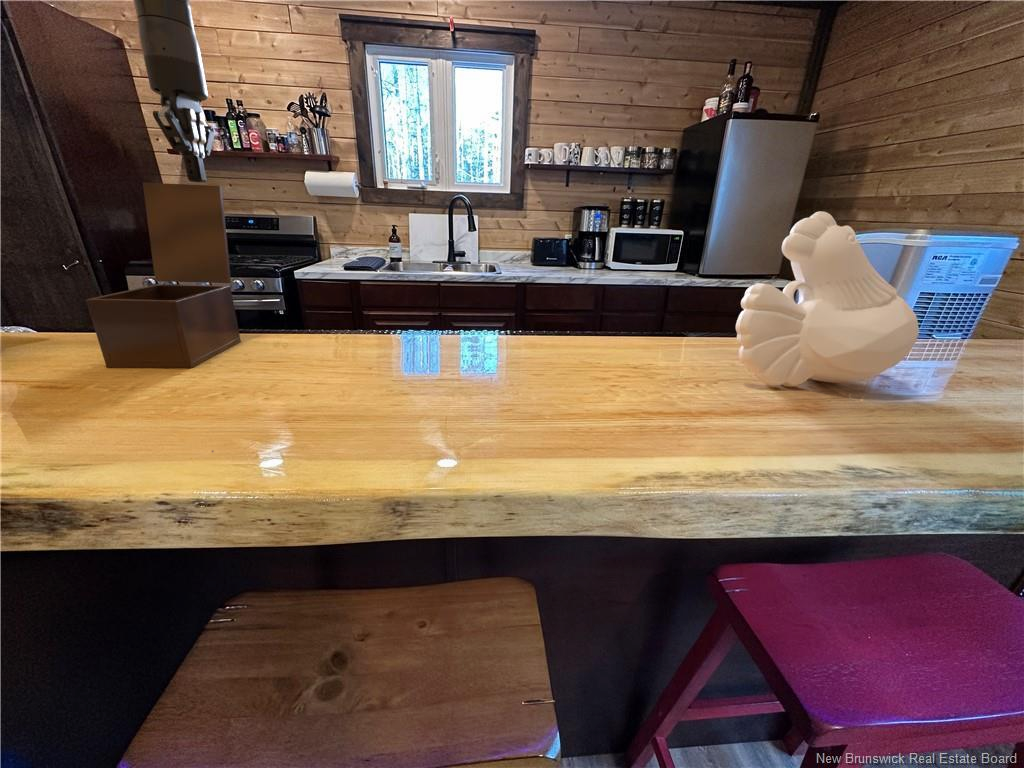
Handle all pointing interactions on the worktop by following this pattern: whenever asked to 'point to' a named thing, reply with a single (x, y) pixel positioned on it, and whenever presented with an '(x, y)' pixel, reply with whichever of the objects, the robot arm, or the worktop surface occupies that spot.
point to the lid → (187, 232)
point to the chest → (164, 325)
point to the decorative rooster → (824, 313)
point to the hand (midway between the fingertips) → (197, 181)
